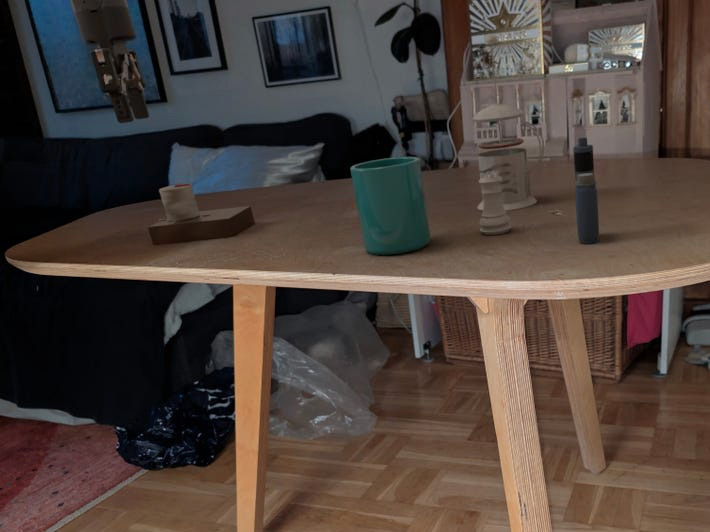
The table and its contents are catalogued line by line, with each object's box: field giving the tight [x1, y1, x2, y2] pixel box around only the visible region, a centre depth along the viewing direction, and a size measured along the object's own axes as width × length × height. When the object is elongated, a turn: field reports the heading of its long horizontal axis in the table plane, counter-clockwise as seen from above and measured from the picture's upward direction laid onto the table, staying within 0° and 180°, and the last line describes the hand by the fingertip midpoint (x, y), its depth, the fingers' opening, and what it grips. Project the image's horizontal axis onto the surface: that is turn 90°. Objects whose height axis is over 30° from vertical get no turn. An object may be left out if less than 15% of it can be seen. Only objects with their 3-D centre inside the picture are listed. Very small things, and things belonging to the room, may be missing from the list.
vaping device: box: [572, 137, 600, 245], centre depth 85 cm, size 3×5×12 cm, turn 175°
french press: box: [471, 35, 545, 211], centre depth 108 cm, size 10×12×25 cm
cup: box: [349, 156, 431, 256], centre depth 94 cm, size 9×12×11 cm
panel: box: [147, 205, 255, 246], centre depth 120 cm, size 15×10×3 cm
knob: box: [158, 182, 200, 221], centre depth 118 cm, size 5×5×6 cm
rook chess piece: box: [478, 171, 512, 236], centre depth 96 cm, size 4×4×8 cm
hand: (134, 120), depth 112 cm, fingers open, 8 cm apart
